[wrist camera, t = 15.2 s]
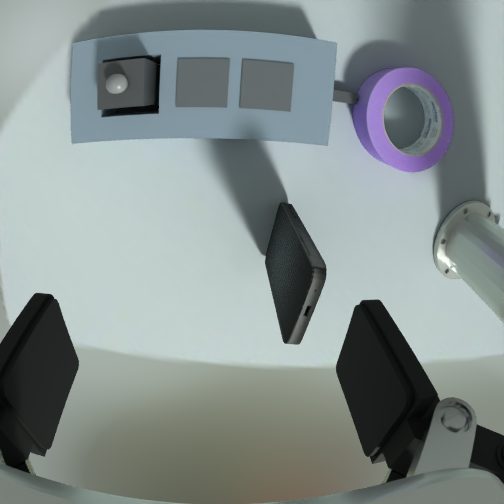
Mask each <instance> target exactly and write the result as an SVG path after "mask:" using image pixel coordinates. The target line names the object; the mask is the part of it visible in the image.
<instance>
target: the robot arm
mask: <svg viewBox="0 0 504 504" xmlns="http://www.w3.org/2000/svg"><path fill="white" fill-rule="evenodd" d="M434 261H435V264H436V267H437V268H438V270H439V271H440V272H441V273H442V274H443V275H444V276H445V277H447V278H450V279H460V278H461V279H462V280H463V281H464V282H465V283H466V284H467V285H468V286H469V287H470V288H471V289H472V290H473V291H474V292H475V293H476V294H477V295H478V296H479V297H480V298H481V299H482V300H483V301H484V302H485V303H486V304H487V305H488V307H489V308H490V309H491V310H492V311H493V312H494V313H495V314H496V315H497V316H498V317H499V319H500V320H501V321H502V322H503V323H504V229H503V228H502V227H500V226H499V225H497V224H496V222H495V217H494V214H493V212H492V211H491V209H490V208H489V207H488V206H487V205H485V204H484V203H482V202H480V201H475V200H473V201H467V202H465V203H462V204H461V205H459V206H457V207H456V208H455V209H454V210H453V211H452V212H451V213H450V214H449V215H448V216H447V217H446V219H445V220H444V222H443V223H442V225H441V227H440V229H439V231H438V234H437V237H436V240H435V244H434ZM78 367H79V361H78V357H77V355H76V352H75V349H74V347H73V344H72V341H71V339H70V336H69V333H68V330H67V327H66V325H65V322H64V319H63V316H62V312H61V309H60V306H59V303H58V301H57V300H56V299H54V297H53V296H52V295H51V294H43V293H35V294H34V295H33V296H32V298H31V299H30V300H29V302H28V303H27V305H26V306H25V307H24V309H23V310H22V312H21V313H20V315H19V316H18V317H17V319H16V320H15V322H14V323H13V325H12V326H11V328H10V329H9V331H8V332H7V334H6V336H5V337H4V339H3V340H2V342H1V343H0V504H184V503H169V502H159V501H150V500H142V499H135V498H128V497H121V496H116V495H110V494H104V493H100V492H95V491H90V490H86V489H82V488H78V487H73V486H70V485H66V484H62V483H59V482H55V481H52V480H48V479H45V478H42V477H39V476H36V474H35V472H34V469H33V467H32V465H31V463H30V460H29V458H28V457H29V454H30V452H31V453H34V454H37V455H41V456H45V454H46V451H47V449H50V448H51V446H52V442H53V440H54V436H55V433H56V430H57V427H58V424H59V420H60V418H61V415H62V412H63V409H64V406H65V403H66V400H67V397H68V394H69V392H70V389H71V386H72V384H73V381H74V378H75V376H76V373H77V370H78ZM336 372H337V376H338V379H339V382H340V384H341V387H342V390H343V393H344V395H345V398H346V401H347V404H348V407H349V410H350V412H351V416H352V418H353V422H354V424H355V427H356V430H357V433H358V436H359V439H360V442H361V445H362V448H363V451H364V454H365V455H366V456H367V457H369V456H370V458H371V461H372V464H374V463H378V462H382V461H386V463H387V465H388V471H387V473H386V475H385V477H384V479H383V481H382V483H381V484H380V485H376V486H372V487H367V488H363V489H358V490H354V491H349V492H344V493H338V494H333V495H328V496H322V497H315V498H309V499H302V500H293V501H283V502H272V503H258V504H504V436H503V435H501V434H499V433H496V432H494V431H491V430H489V429H486V428H484V427H482V426H479V425H477V418H476V415H475V412H474V410H473V409H472V407H471V406H470V405H469V404H468V403H467V402H465V401H463V400H461V399H458V398H454V397H452V398H445V399H443V400H441V401H440V400H439V398H438V394H437V392H436V390H435V388H434V387H433V385H432V383H431V381H430V380H429V378H428V376H427V375H426V373H425V371H424V369H423V368H422V366H421V364H420V363H419V361H418V359H417V358H416V356H415V354H414V353H413V351H412V349H411V348H410V346H409V344H408V343H407V341H406V340H405V338H404V336H403V335H402V333H401V332H400V330H399V328H398V327H397V325H396V324H395V322H394V320H393V319H392V317H391V316H390V314H389V313H388V311H387V310H386V308H385V307H384V305H383V303H382V302H381V301H380V300H363V301H361V302H360V304H359V305H356V306H355V308H354V311H353V315H352V318H351V321H350V324H349V328H348V331H347V334H346V337H345V340H344V343H343V346H342V349H341V352H340V355H339V358H338V361H337V365H336Z"/></svg>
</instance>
